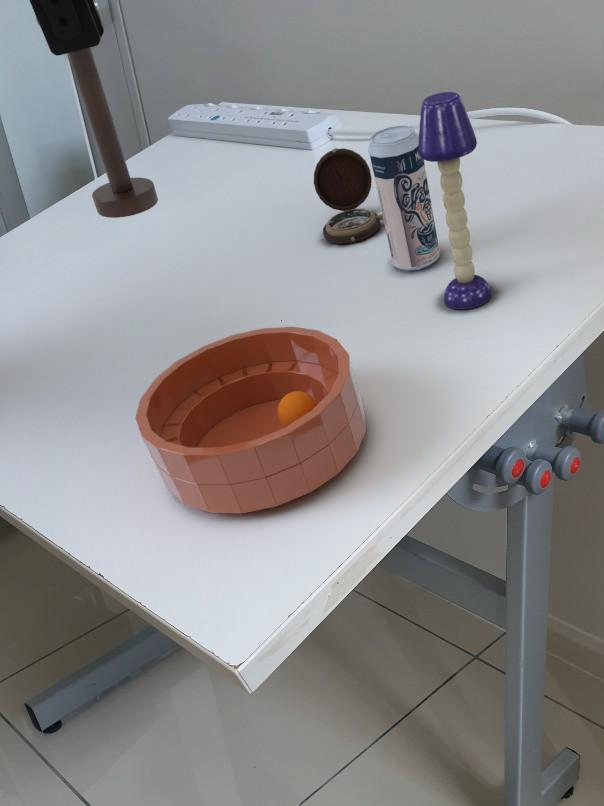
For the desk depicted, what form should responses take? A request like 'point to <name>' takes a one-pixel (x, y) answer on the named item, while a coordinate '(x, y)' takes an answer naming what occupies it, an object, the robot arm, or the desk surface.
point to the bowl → (252, 419)
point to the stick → (109, 147)
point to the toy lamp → (453, 189)
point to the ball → (295, 406)
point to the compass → (345, 195)
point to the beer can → (404, 197)
